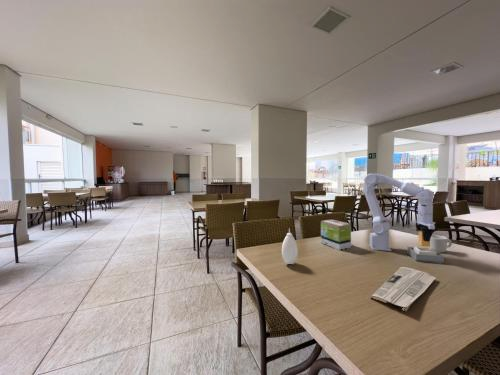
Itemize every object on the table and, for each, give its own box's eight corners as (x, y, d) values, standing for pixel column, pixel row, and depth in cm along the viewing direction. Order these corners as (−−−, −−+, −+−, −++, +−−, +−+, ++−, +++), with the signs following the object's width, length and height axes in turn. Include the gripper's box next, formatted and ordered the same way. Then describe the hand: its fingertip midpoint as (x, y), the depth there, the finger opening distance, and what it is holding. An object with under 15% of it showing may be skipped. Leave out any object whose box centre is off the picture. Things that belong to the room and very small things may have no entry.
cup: (445, 248, 118) (445, 234, 118) (457, 254, 110) (457, 239, 110) (424, 248, 119) (424, 234, 119) (435, 253, 111) (435, 239, 111)
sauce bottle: (298, 268, 98) (297, 230, 97) (281, 267, 100) (280, 230, 99) (297, 261, 106) (297, 226, 105) (282, 260, 107) (281, 226, 106)
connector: (421, 246, 105) (421, 230, 104) (418, 244, 108) (418, 229, 108) (430, 246, 103) (430, 231, 103) (426, 244, 107) (426, 229, 106)
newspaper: (400, 270, 94) (400, 262, 94) (436, 280, 85) (436, 272, 84) (368, 302, 72) (369, 292, 71) (414, 320, 62) (414, 309, 62)
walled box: (416, 261, 103) (416, 252, 102) (407, 253, 113) (407, 245, 113) (443, 263, 99) (444, 254, 99) (432, 255, 109) (432, 246, 109)
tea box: (320, 243, 133) (320, 220, 132) (331, 241, 137) (331, 218, 136) (339, 250, 119) (339, 225, 119) (351, 247, 124) (351, 223, 123)
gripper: (443, 216, 97) (442, 245, 97) (427, 211, 110) (427, 236, 111) (424, 215, 99) (424, 243, 100) (411, 210, 113) (411, 235, 113)
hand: (424, 239), depth 105 cm, fingers closed on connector, 3 cm apart
